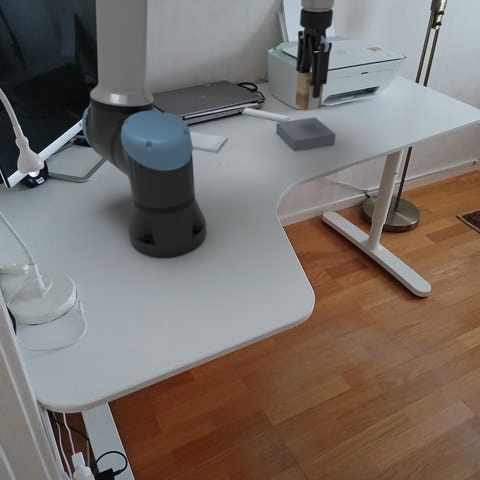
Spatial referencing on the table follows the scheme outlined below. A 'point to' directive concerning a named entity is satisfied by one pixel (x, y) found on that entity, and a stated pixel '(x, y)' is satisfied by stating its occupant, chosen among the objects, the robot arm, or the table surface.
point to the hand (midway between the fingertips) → (308, 104)
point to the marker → (266, 115)
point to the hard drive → (207, 142)
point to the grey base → (305, 134)
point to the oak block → (305, 90)
